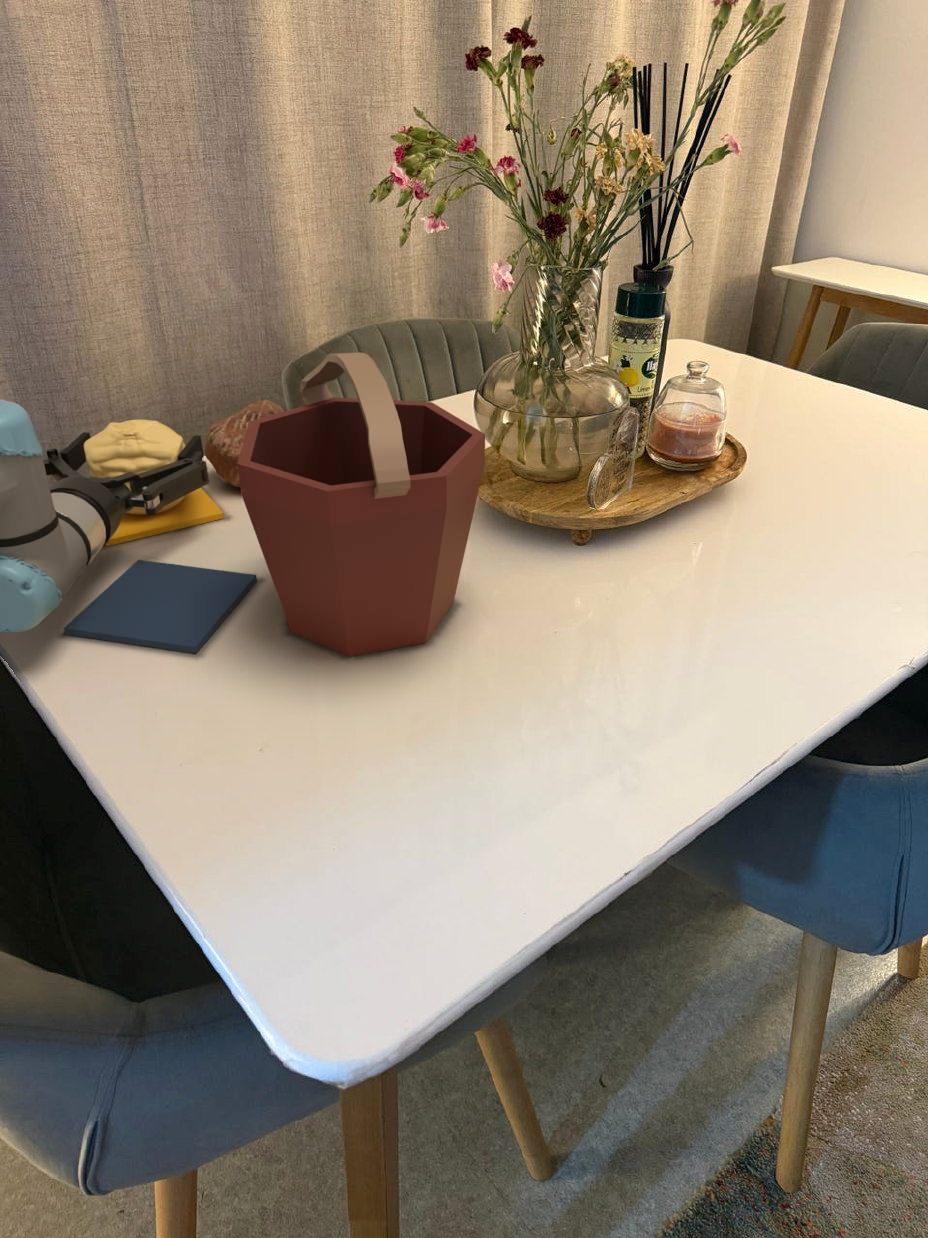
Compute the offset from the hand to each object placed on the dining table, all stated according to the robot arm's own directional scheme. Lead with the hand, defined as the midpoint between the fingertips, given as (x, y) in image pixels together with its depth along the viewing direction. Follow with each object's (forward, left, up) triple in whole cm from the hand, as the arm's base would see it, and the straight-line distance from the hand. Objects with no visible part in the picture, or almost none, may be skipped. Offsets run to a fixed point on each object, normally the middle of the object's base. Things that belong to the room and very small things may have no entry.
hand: (143, 444), depth 108 cm
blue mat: (+14, -22, -8) cm, 27 cm away
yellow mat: (+1, -2, -8) cm, 8 cm away
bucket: (+35, -17, -8) cm, 39 cm away
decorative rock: (+10, +10, -8) cm, 16 cm away
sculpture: (+1, -2, -7) cm, 7 cm away
